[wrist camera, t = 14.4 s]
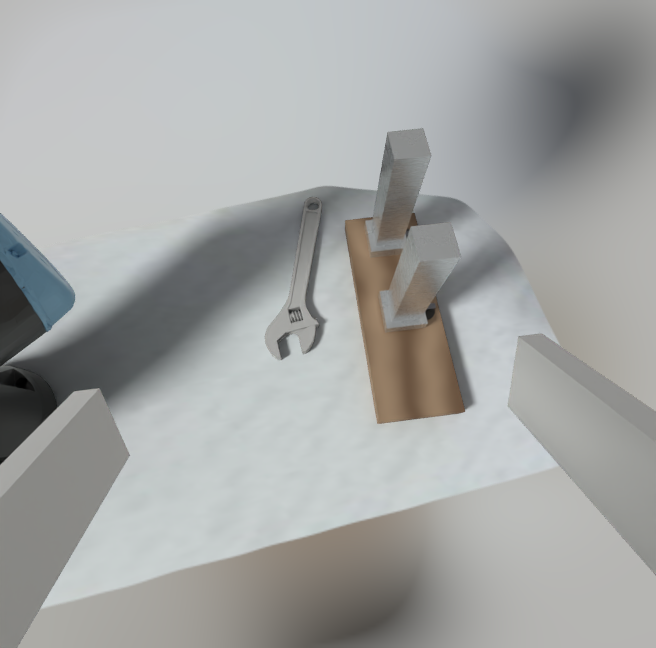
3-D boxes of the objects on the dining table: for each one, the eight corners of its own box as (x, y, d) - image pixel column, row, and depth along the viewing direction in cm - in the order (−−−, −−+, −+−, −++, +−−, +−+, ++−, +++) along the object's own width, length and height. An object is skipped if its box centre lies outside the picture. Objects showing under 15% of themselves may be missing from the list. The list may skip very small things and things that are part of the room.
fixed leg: (370, 257, 47) (387, 166, 32) (364, 227, 49) (378, 127, 34) (418, 252, 47) (459, 159, 32) (411, 221, 49) (446, 120, 34)
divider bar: (377, 424, 41) (379, 422, 39) (344, 228, 51) (345, 219, 49) (459, 413, 42) (465, 411, 40) (411, 221, 51) (414, 211, 49)
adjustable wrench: (306, 202, 53) (305, 194, 52) (346, 209, 53) (347, 201, 51) (262, 355, 45) (259, 351, 43) (310, 365, 44) (309, 361, 43)
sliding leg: (385, 332, 43) (412, 270, 28) (378, 296, 44) (400, 220, 30) (438, 326, 43) (493, 261, 28) (429, 290, 45) (476, 211, 30)
